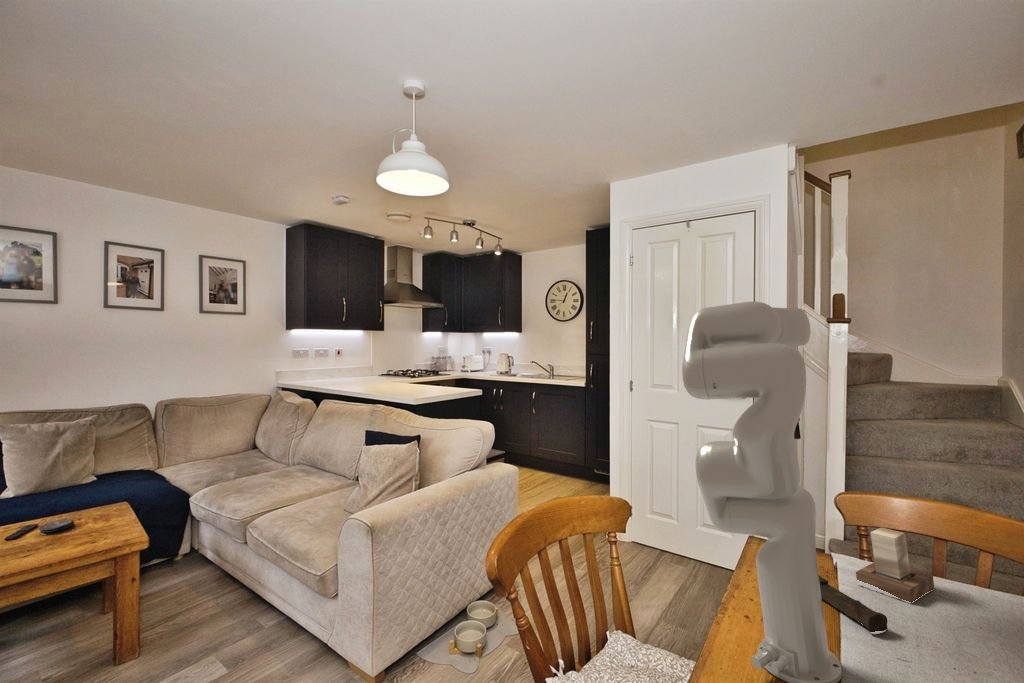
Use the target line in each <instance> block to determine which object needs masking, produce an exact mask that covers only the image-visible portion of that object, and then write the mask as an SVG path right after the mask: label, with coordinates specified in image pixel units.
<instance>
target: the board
mask: <svg viewBox="0 0 1024 683" xmlns="http://www.w3.org/2000/svg"><path fill="white" fill-rule="evenodd" d="M875 571H876V569H875V562H872V563H870V564H868V565H866V566H864V567H863V568H861V569H859V570H856V571H855V576H856V577H855V578H856V581H857V580H859V581H862V582H864V583H868V584H870V585H873V586H875V587H878V588H879V589H881V590H883V591H886V592H888V593H890V594H892V595H894V596H896V597H898V598H900V599H903V600H906V601H909V602H911V603H912V602H913V601H915V600H916V599H918V598H919V597H921V596H922V595H924V594H925V593H927V592H929V591H931V590H933V589H936V588H935V583H934V576H933V574H930V573H925V572H923V571H920V570H916V569H913V568H910V573H911V578H910V579H909V580H907V581H905V582H903V583H902V582H898V581H895V580H892V579H889V578H886V577H883V576H880V575H877V574H876V572H875ZM933 591H934V590H933Z"/></svg>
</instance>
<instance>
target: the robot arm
mask: <svg viewBox="0 0 1024 683" xmlns="http://www.w3.org/2000/svg"><path fill="white" fill-rule="evenodd" d="M810 338H811V323H810V319H809V316H808V315H807V313H806V311H805V310H804V309H802V308H799V307H772V306H771V305H769V304H768V303H765V302H762V301H743V302H736V303H730V304H723V305H715V306H709V307H704V308H703V307H702V308H701V309H698V310H697V311H696V313H694V315H693V316H692V318H691V320H690V323H689V325H688V329H687V334H686V340H685V347H684V353H683V361H682V366H681V373H682V374H681V375H682V382H683V386H684V388H685V390H686V391H687V393H688V394H689V395H690V396H691V397H693V398H694V399H700V400H706V401H707V400H727V399H729V400H730V399H731V400H732V399H751V398H753V399H754V400H753V401H754V403H753V404H751V405H750V406H749V407H748V408H746V410H744V412H743V413H742V414H741V415H740V416H739V418H738V419H737V420H736V422H735V424H734V426H733V428H732V429H733V430H732V437H733V440H715V441H707V442H705V443H703V444H702V445H700V447H699V448H698V450H697V452H696V456H695V474H696V478H697V483H698V487H699V490H700V493H701V496H702V500H703V501H704V504H705V507H706V511H707V514H708V517H709V520H710V522H711V523H712V525H713V526H714V527H715V528H716V529H718V530H719V531H721V532H724V533H729V534H738V535H739V534H740V535H748V536H757V537H763V538H767V540H766V541H765V542H764V543H763V544H762V545H761V547H760V549H759V550H758V551H757V555H756V557H755V566H756V573H757V582H758V591H759V597H760V605H761V614H762V621H763V622H762V623H763V629H764V630H763V631H764V638H762V641H760V643H759V644H758V646H757V653H756V654H754V655H752V656H751V657H750V662H751V664H752V666H753V667H754V668H755V669H756V670H761V669H762V668H764V669H766V670H767V672H769V673H770V674H772V675H773V676H775V677H776V678H778V679H780V680H782V681H784V682H787V683H839V682H840V680H841V679H842V676H843V669H842V665H841V664H842V663H841V662H840V660H839V659H838V657H837V656H836V655H835V654H834V653H833V652H832V651H830V650H829V645H828V638H827V637H828V636H827V630H826V624H825V615H824V607H823V601H822V598H821V590H820V583H819V576H820V575H819V568H818V561H817V560H818V558H817V549H816V543H817V542H816V537H817V536H816V531H817V530H816V529H817V508H816V503H815V499H814V497H813V495H812V494H811V492H809V491H808V490H807V489H805V488H804V487H802V486H800V483H801V472H800V467H799V466H800V464H799V459H798V453H797V447H796V440H801V438H802V437H801V429H800V420H801V414H802V412H803V408H804V405H805V399H806V391H807V371H806V369H807V368H806V363H805V360H804V357H803V354H801V351H799V350H798V349H797V348H795V347H799V346H800V347H801V346H805V345H807V344H808V342H809V341H810Z"/></svg>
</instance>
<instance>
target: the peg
mask: <svg viewBox="0 0 1024 683" xmlns="http://www.w3.org/2000/svg"><path fill="white" fill-rule="evenodd" d="M870 540H871V545H872V554H873V561H874V562H875V569H876V571H875V572H876V574H877V575H880V576H883V577H886V578H889V579H892V580H895V581H898V582H902V583H903V582H905V581H907V580H909V579H910V578H911V573H910V569H911V567H910V560H909V554H908V553H909V552H908V546H907V538H906V532H903V531H898V530H893V529H890V528H887V527H886V528H885V527H879V528H877V529H875V530H872V531H870ZM874 562H873V563H874Z"/></svg>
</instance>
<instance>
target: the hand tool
mask: <svg viewBox="0 0 1024 683" xmlns="http://www.w3.org/2000/svg"><path fill="white" fill-rule="evenodd" d="M819 583H820V590H821V598H822V602H824V601H825V602H826V603H828V604H829V605H831V606H833V608H835V609H837V610H839V611H841V612H842V613H843V612H844V613H843V614H845V615H846V614H847V615H846V616H847V617H849V616H850V617H849V618H851V619H852V618H854V619H855V620H854V619H853V620H854V621H856V620H857V621H859V622H860V623H862V624H863V625H864V626H863V625H862V626H863V627H865V626H866V627H865V628H867V629H868V632H869V631H870V632H875V631H884V630H886V629H887V630H888V617H887V615H885V614H884V613H881V612H878V611H876V610H874V609H871V608H870V607H868V606H866V604H863V603H862V602H861V601H860V600H857V599H854V598H852V597H850V596H849V595H847V594H846V593H844V592H842V591H840V590H839V589H837V588H835V587H834V586H832V585H831V584H829V580H828V579H826V578H824V577H822V576H821V575H819ZM857 621H856V622H857ZM859 622H858V623H859ZM860 623H859V624H860ZM887 630H886V631H887ZM870 632H869V633H870Z"/></svg>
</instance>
